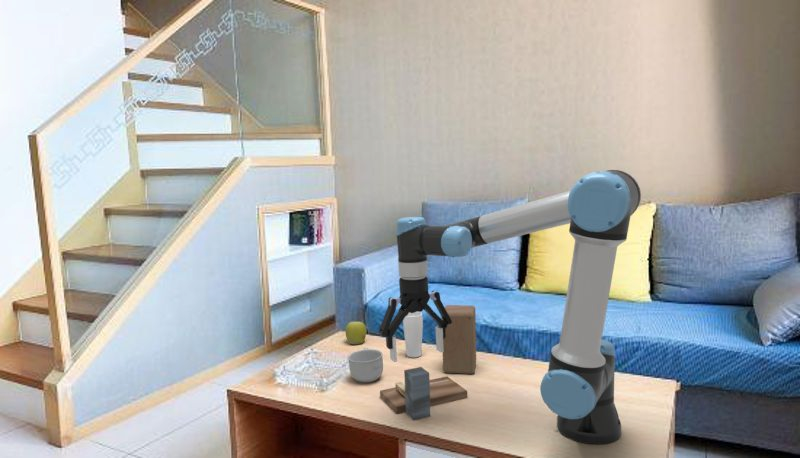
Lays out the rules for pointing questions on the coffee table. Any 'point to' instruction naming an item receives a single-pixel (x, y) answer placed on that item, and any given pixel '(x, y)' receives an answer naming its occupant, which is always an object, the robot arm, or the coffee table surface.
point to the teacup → (366, 365)
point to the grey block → (416, 392)
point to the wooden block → (460, 340)
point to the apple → (356, 332)
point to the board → (439, 394)
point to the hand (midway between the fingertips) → (417, 355)
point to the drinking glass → (413, 334)
